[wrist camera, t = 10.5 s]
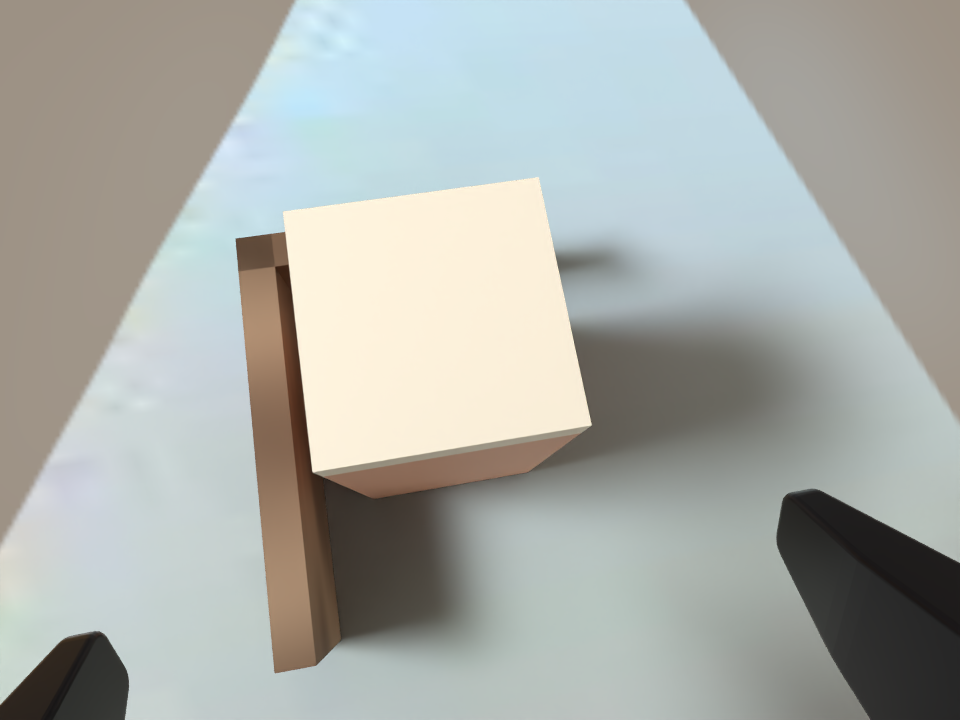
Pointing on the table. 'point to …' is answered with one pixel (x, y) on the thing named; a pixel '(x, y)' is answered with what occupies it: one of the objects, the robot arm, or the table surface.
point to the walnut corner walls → (285, 463)
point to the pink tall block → (433, 338)
